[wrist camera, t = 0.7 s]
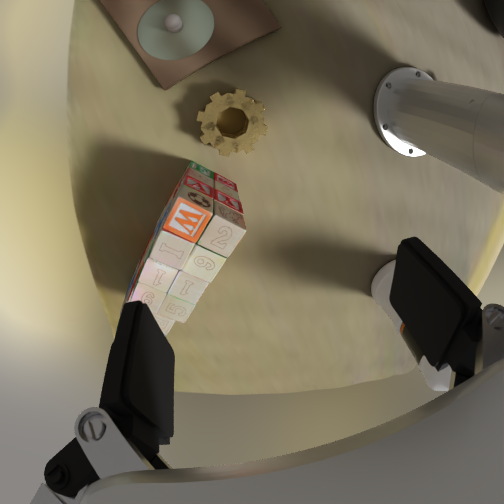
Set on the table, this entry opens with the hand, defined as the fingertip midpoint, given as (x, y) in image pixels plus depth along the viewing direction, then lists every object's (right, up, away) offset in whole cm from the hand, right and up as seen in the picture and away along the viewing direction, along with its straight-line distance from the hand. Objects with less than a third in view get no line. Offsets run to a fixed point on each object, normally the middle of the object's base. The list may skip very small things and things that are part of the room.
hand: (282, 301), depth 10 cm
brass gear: (-3, +16, +19) cm, 25 cm away
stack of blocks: (-11, +3, +26) cm, 29 cm away
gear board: (-9, +29, +10) cm, 32 cm away
